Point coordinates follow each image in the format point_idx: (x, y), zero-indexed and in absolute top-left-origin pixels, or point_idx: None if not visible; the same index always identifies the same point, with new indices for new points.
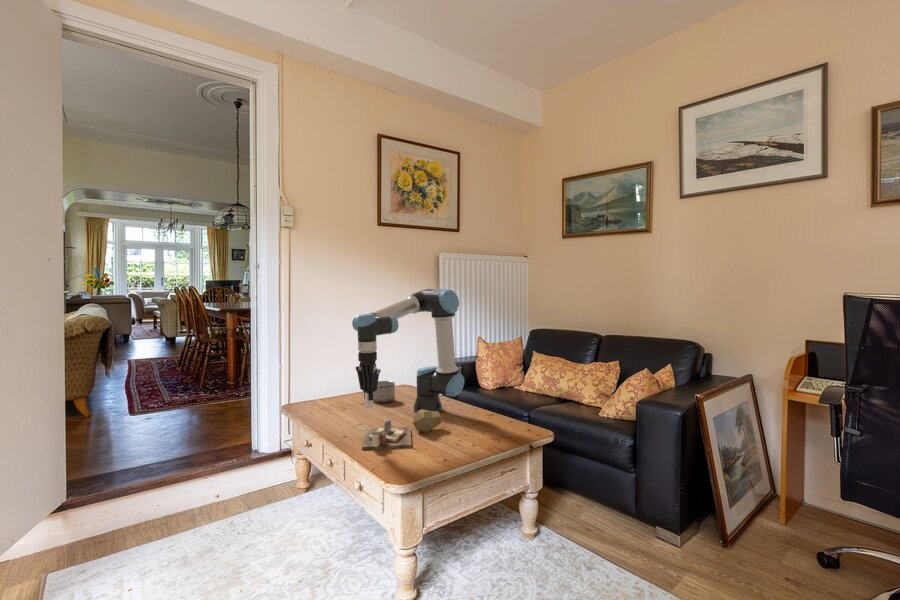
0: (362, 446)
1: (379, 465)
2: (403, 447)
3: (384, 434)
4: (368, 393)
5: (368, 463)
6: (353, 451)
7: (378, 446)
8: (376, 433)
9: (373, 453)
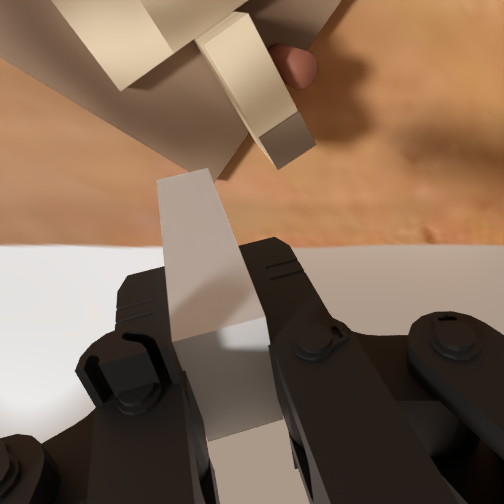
0: None
1: (425, 202)
2: None
3: (304, 61)
4: (275, 385)
5: (373, 229)
6: None
7: None
8: (305, 144)
9: None
